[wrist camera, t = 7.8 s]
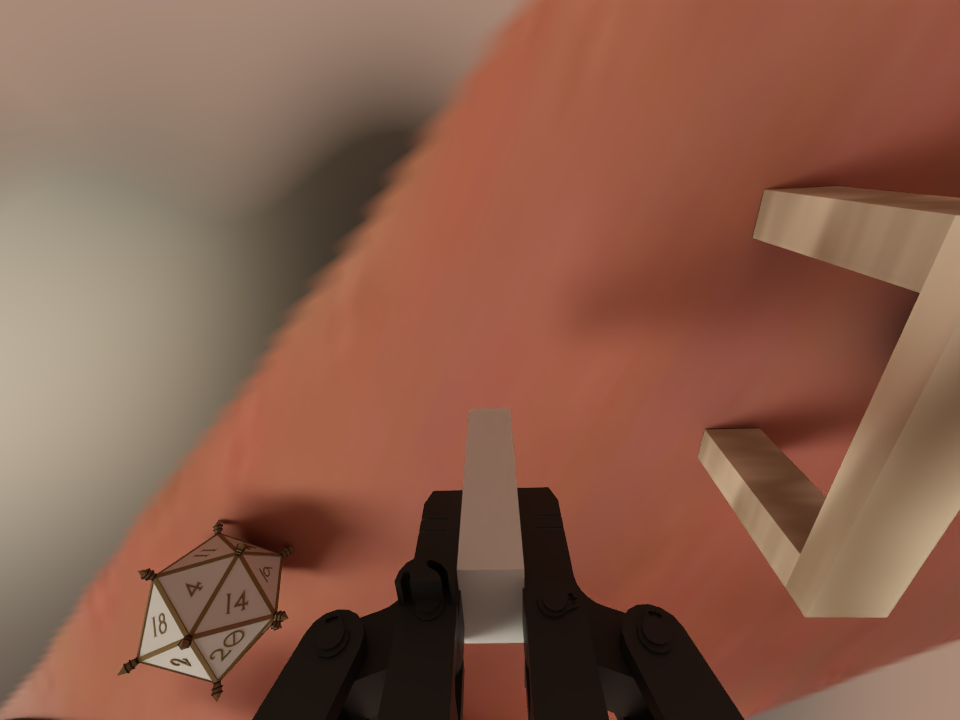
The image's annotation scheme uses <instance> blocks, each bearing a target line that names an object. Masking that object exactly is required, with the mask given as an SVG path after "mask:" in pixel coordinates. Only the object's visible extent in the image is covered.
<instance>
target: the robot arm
mask: <svg viewBox="0 0 960 720" xmlns="http://www.w3.org/2000/svg"><path fill="white" fill-rule="evenodd" d="M419 531H420V533H419V536H418V541H417V547H416V552H415V557H414V559H413V560H411V561H409V562H407V563H406V564H405V565H404V566H403V567H402V569H401V570H400V571H399V572H398V575H397V577H396V579H395V587H396V591H397V596H398V601H396V602H395V603H394V604H392V605H391V606H390V607H387V608H385V609H383V610H381V611H378V612H375V613H372V614H370V615H367V616H364V617H361V618H359V616H358V615H357V614H356V613H354V612H352V611H350V610H335V611H332V612H329V613H326V614H325V615H323V616H322V617H320V618H319V619H318V620H316V621H315V622H314V623H313V624H312V625H311V627H310V628H309V629H308V630H307V632H306V633H305V635H304V636H303V638H302V639H301V641H300V643H299V644H298V646H297V648H296V649H295V651H294V652H293V654H292V656H291V657H290V659H289V661H288V662H287V664H286V665H285V667H284V669H283V670H282V672H281V674H280V675H279V677H278V678H277V680H276V682H275V683H274V685H273V687H272V688H271V690H270V691H269V693H268V695H267V696H266V698H265V700H264V701H263V703H262V705H261V706H260V708H259V709H258V711H257V713H256V714H255V716H254V718H253V719H252V720H462V717H463V694H464V671H465V670H464V661H463V651H464V643H524V653H525V688H526V694H527V708H528V720H609V717H608V712H607V710H608V711H611V712H613V713H615V716H616V718H617V720H744V718H743V717H742V715H741V714H740V712H739V711H738V709H737V708H736V706H735V705H734V703H733V702H732V700H731V699H730V697H729V696H728V694H727V693H726V691H725V690H724V688H723V687H722V685H721V684H720V682H719V680H718V679H717V677H716V676H715V674H714V673H713V671H712V670H711V668H710V667H709V665H708V664H707V662H706V661H705V659H704V658H703V656H702V655H701V653H700V652H699V650H698V649H697V647H696V646H695V644H694V643H693V641H692V640H691V638H690V637H689V635H688V634H687V632H686V631H685V629H684V628H683V626H682V625H681V624H680V623H679V622H678V621H677V620H676V618H675V617H674V616H673V615H671V614H670V613H668V612H667V611H665V610H663V609H662V608H659V607H656V606H653V605H649V604H644V605H636V606H634V607H632V608H630V609H629V610H628V611H627V612H626V613H624V612H621V611H618V610H615V609H611V608H608V607H605V606H603V605H600V604H598V603H596V602H594V601H593V600H591V599H590V598H588V597H587V596H586V595H585V594H584V593H583V592H582V591H581V590H580V588H579V586H578V585H577V583H576V581H575V578H574V575H573V570H572V565H571V561H570V556H569V551H568V546H567V541H566V537H565V532H564V528H563V522H562V517H561V513H560V508H559V503H558V499H557V498H556V497H555V495H554V494H553V493H552V491H551V490H550V489H549V488H548V487H542V488H517V482H516V471H515V460H514V449H513V438H512V427H511V416H510V408H488V409H469V415H468V429H467V442H466V455H465V468H464V481H463V490H458V491H433V492H432V494H431V495H430V497H429V498H428V500H427V501H426V502H425V504H424V509H423V514H422V521H421V525H420V530H419Z"/></svg>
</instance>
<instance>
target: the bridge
mask: <svg viewBox="0 0 960 720" xmlns="http://www.w3.org/2000/svg"><path fill="white" fill-rule="evenodd" d="M753 238H754V239H757V240H760V241H763V242H766V243H769V244H772V245H775V246H778V247H781V248H784V249H788V250H791V251H794V252H797V253H800V254H803V255H806V256H809V257H812V258H815V259H818V260H821V261H824V262H827V263H830V264H833V265H836V266H839V267H842V268H845V269H848V270H852V271H855V272H858V273H861V274H864V275H867V276H870V277H873V278H876V279H879V280H882V281H885V282H888V283H891V284H894V285H897V286H900V287H903V288H906V289H909V290H912V291H916V292H919V293H920V294H919V296H918V299H917V301H916V303H915V305H914V307H913V309H912V312H911V314H910V316H909V318H908V320H907V323H906V325H905V327H904V329H903V331H902V333H901V336H900V338H899V340H898V342H897V344H896V347H895V349H894V351H893V353H892V355H891V357H890V360H889V362H888V364H887V366H886V368H885V371H884V373H883V375H882V377H881V379H880V382H879V384H878V386H877V388H876V390H875V392H874V395H873V397H872V399H871V401H870V403H869V406H868V408H867V410H866V412H865V414H864V416H863V419H862V421H861V423H860V425H859V427H858V430H857V432H856V434H855V436H854V438H853V440H852V443H851V445H850V447H849V449H848V451H847V454H846V456H845V458H844V460H843V462H842V464H841V467H840V469H839V471H838V473H837V475H836V478H835V480H834V482H833V484H832V486H831V488H830V491H829V493H828V495H827V497H826V496H825V495H824V494H823V493H822V492H821V491H820V490H819V489H818V488H817V487H816V486H815V485H814V484H813V483H812V482H811V481H810V480H809V479H808V478H807V477H806V476H805V475H804V474H803V473H802V472H801V471H800V470H799V468H798V467H797V466H796V465H795V464H794V463H793V462H792V461H791V460H790V459H789V458H788V457H787V456H786V455H785V454H784V453H783V452H782V451H781V450H780V449H779V448H778V447H777V446H776V445H775V444H774V443H773V442H772V441H771V439H770V438H769V437H768V436H767V435H766V434H765V433H764V432H763V431H762V430H761V429H760V428H755V429H705V431H704V435H703V439H702V443H701V447H700V451H699V455H698V458H699V460H700V461H701V463H702V464H703V466H704V467H705V469H706V470H707V472H708V473H709V475H710V476H711V478H712V479H713V481H714V482H715V484H716V485H717V487H718V488H719V490H720V491H721V493H722V494H723V496H724V497H725V498H726V500H727V501H728V503H729V504H730V506H731V507H732V509H733V510H734V512H735V513H736V515H737V516H738V518H739V519H740V521H741V522H742V524H743V525H744V527H745V528H746V530H747V531H748V533H749V534H750V536H751V537H752V539H753V540H754V542H755V543H756V545H757V546H758V548H759V549H760V551H761V552H762V554H763V555H764V557H765V558H766V560H767V561H768V563H769V564H770V566H771V567H772V569H773V570H774V572H775V573H776V575H777V576H778V578H779V579H780V581H781V582H782V584H783V585H784V587H785V588H786V589H787V591H788V592H789V594H790V595H791V597H792V598H793V600H794V601H795V603H796V604H797V606H798V607H799V609H800V610H801V612H802V613H803V615H804V616H805V617H888V615H889V614H890V612H891V611H892V609H893V608H894V606H895V605H896V603H897V602H898V600H899V599H900V598H901V596H902V595H903V593H904V592H905V590H906V589H907V587H908V586H909V584H910V583H911V581H912V580H913V578H914V577H915V575H916V574H917V572H918V571H919V569H920V568H921V566H922V565H923V563H924V562H925V560H926V559H927V557H928V556H929V554H930V553H931V551H932V550H933V548H934V547H935V545H936V544H937V542H938V541H939V539H940V538H941V536H942V535H943V533H944V532H945V530H946V529H947V527H948V526H949V524H950V523H951V521H952V520H953V519H954V517H955V516H956V514H957V513H958V511H959V510H960V198H958V197H947V196H937V195H926V194H916V193H906V192H895V191H885V190H874V189H864V188H853V187H843V186H829V187H808V188H787V189H766V190H764V194H763V198H762V202H761V206H760V210H759V214H758V218H757V222H756V226H755V230H754V234H753Z"/></svg>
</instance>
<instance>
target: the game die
mask: <svg viewBox="0 0 960 720" xmlns="http://www.w3.org/2000/svg"><path fill="white" fill-rule="evenodd" d="M222 527H223V524H221V523H220V521H219V520H218V522H217V523H216V525H215V526H214V527H213V528H214V530H213V531H214V532H215V535H214V536H213V537H211V538H210V539H208V540H207V541H205V542H204V543H202V544H201V545H199V546H198V547H196V548H195V549H193V550H192V551H190V552H189V553H187V554H186V555H184V556H183V557H181V558H180V559H178V560H177V561H175V562H174V563H172V564H171V565H169V566H168V567H166V568H165V569H164V570H162V571H161V572H159V573H158V574H155V573H154V570H152V571H151V570H150V568H149V569H147V570H141V571H138V572H139V573H140V575H141V579H145V580H146V581H147V580H152V581H151V586H150V591H149V596H148V602H147V607H146V612H145V617H144V622H143V627H142V633H141V638H140V643H139V648H138V653H137V657H136V658H135V659H133V660H131V661H130V660H129V662H128V663H126V664H123V665H124V666H123V667H122V669H121V670H120V672H119V674H118V675H121V674H125V673H130V671H131V670H132V669H135V667H136V666H137V664H139V663H143V664H146V665H150V666H153V667H157V668H161V669H164V670H168V671H172V672H175V673H179V674H183V675H186V676H190V677H193V678H197V679H201V680H204V681H208V682H212V683H213V684H214V686H213V689H212V690H213V692H212V694H211V696H213V697H214V699H215V700H216V702H217V700H218V698H219V696H220V695H221V693H222V692H223V690H222V687H223V685H221V680H222V679H223V677H224V676H225V675H226V674H227V673H228V672H229V671H230V670H231V669H232V668H233V667H234V665H235V664H236V663H237V662H238V661H239V660H240V659H241V658H242V657H243V656H244V654H245V653H246V652H247V651H248V650H249V649H250V648H251V647H252V646H253V645H254V644H255V642H256V641H257V640H258V639H259V638H260V637H261V636H262V635H263V634H264V633H265V632H266V630H267V629H268V628H269V627H271V629H274V631H275V630H277V629H279V628H282V627H281V623H280V622H283V621H284V620H286V619H288V617H287V615H286V613H285V611H283V612H282V611H279V612H277V609H278V599H279V590H280V580H281V570H282V560H283V557H285V556H288V555H289V554H291V552H292V550H293V548H294V547H286V549H285V550H283V552H282V553H277V552H274V551H271V550H268V549H265V548H262V547H259V546H256V545H253V544H251V543H248V542H245V541H242V540H239V539H236V538H233V537H230V536H227V535H224V534H221V531H222V530H223V529H222ZM274 619H276V620H275V621H274ZM118 675H117V676H118Z"/></svg>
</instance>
